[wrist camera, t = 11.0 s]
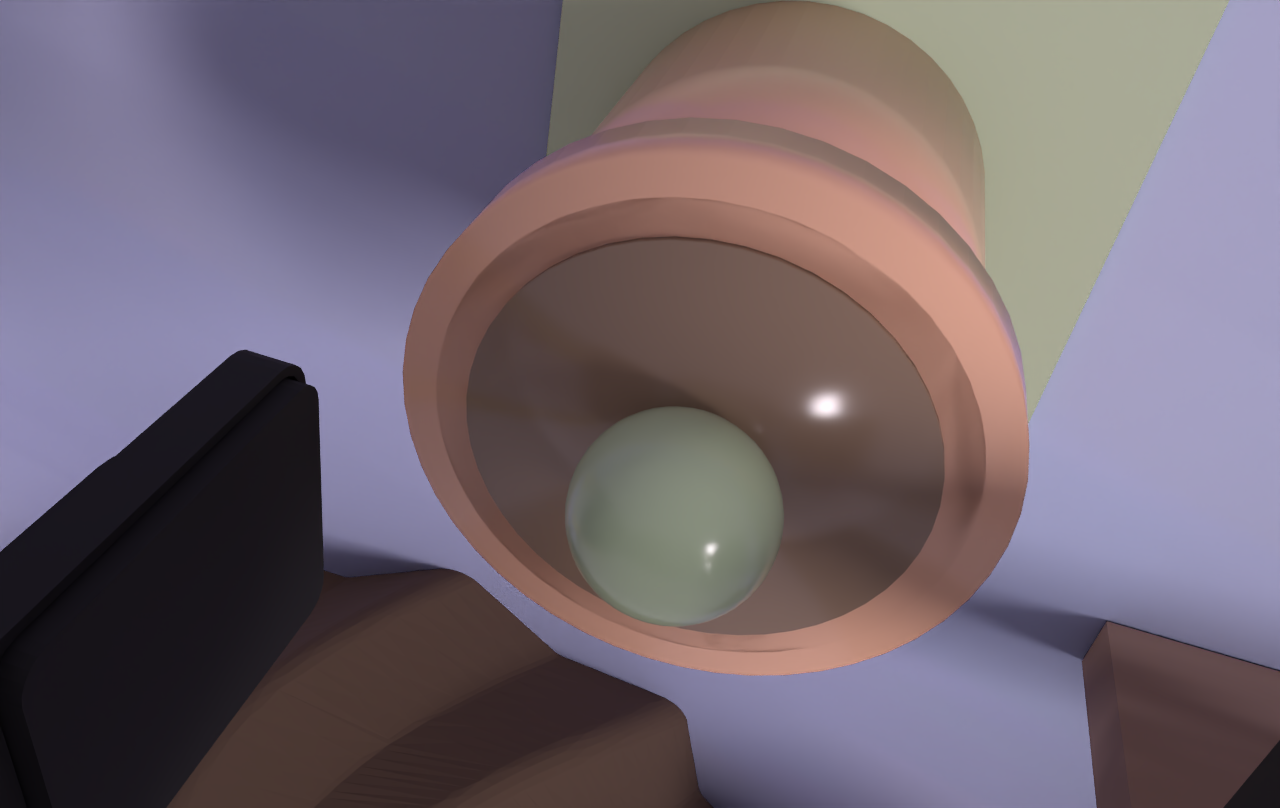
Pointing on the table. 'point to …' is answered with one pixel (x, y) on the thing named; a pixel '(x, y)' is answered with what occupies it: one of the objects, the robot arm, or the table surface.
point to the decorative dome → (439, 714)
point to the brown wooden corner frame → (1174, 721)
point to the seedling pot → (736, 357)
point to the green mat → (979, 119)
